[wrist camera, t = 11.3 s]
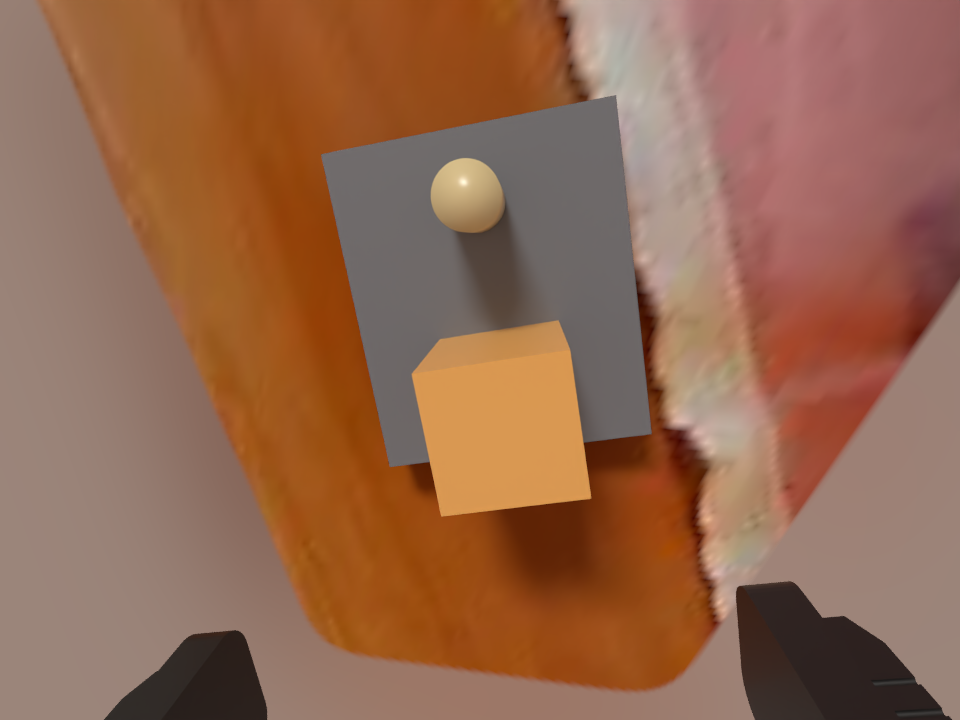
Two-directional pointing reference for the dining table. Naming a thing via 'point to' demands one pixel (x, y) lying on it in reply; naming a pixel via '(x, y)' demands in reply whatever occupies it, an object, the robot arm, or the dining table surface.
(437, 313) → the mounting plate
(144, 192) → the dining table surface
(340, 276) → the dining table surface
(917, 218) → the dining table surface
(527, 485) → the orange wooden cube
